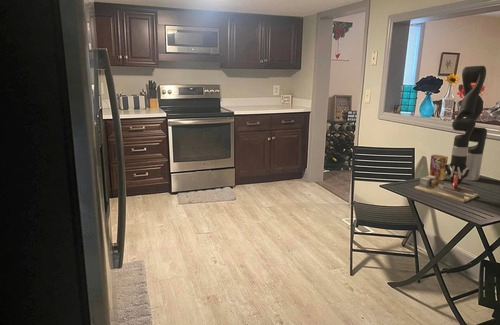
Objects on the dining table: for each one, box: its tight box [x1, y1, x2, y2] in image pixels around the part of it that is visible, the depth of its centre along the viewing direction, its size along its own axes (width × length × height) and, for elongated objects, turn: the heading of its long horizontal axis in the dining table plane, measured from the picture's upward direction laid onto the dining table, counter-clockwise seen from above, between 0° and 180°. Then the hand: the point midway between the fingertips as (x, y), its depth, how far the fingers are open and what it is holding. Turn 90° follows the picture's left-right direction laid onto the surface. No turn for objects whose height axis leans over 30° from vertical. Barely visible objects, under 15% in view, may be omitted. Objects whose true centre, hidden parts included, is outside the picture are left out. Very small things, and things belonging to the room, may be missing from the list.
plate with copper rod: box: [443, 172, 461, 192], centre depth 200 cm, size 8×6×11 cm
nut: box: [431, 179, 440, 188], centre depth 209 cm, size 4×4×4 cm
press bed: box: [414, 174, 479, 203], centre depth 203 cm, size 16×28×6 cm, turn 33°
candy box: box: [428, 153, 449, 181], centre depth 227 cm, size 9×4×15 cm, turn 39°
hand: (455, 183), depth 198 cm, fingers closed on plate with copper rod, 3 cm apart
